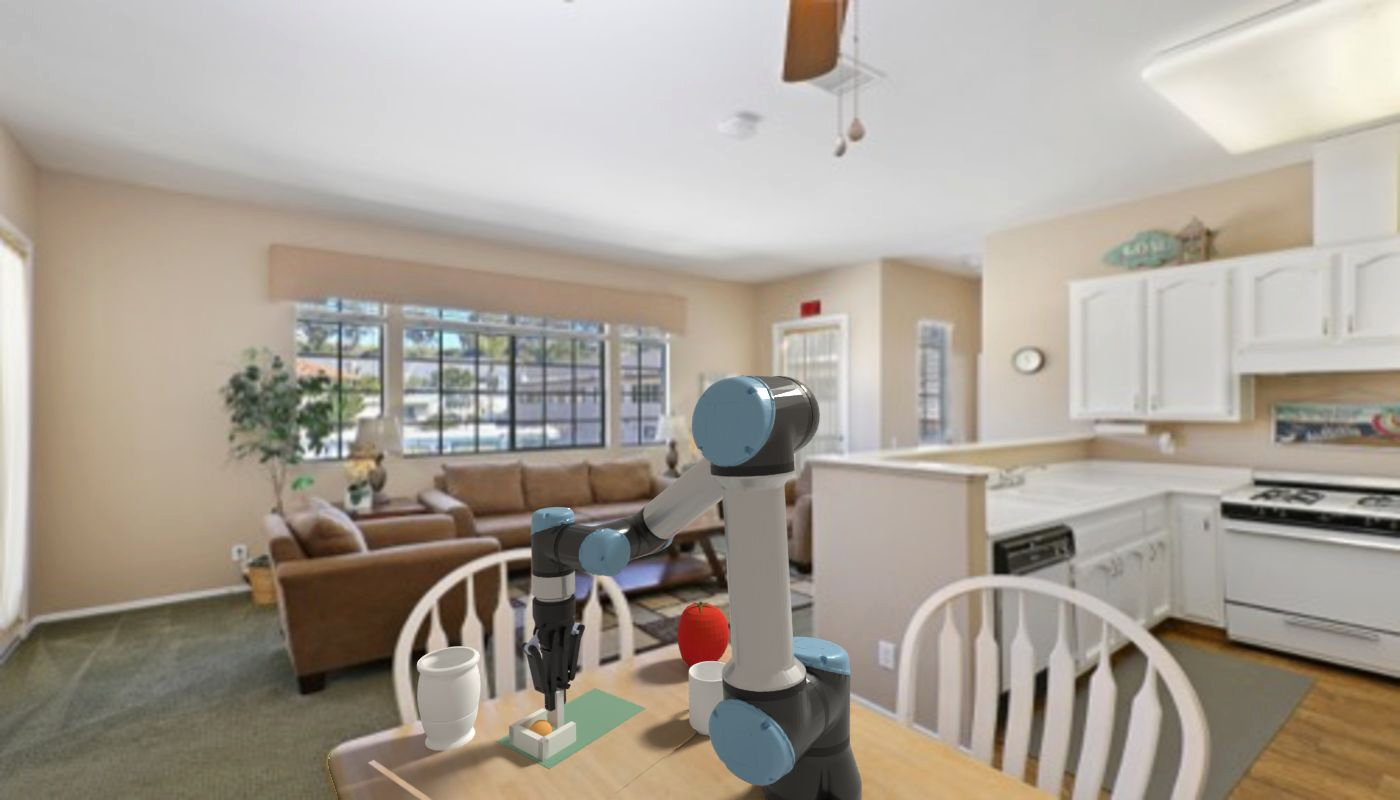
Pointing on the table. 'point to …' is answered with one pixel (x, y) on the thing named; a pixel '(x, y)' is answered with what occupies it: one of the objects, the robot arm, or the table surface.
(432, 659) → the jar
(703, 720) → the cup
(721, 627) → the tomato
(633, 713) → the putting mat
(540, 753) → the white c-shaped bracket
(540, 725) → the ball
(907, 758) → the table surface
